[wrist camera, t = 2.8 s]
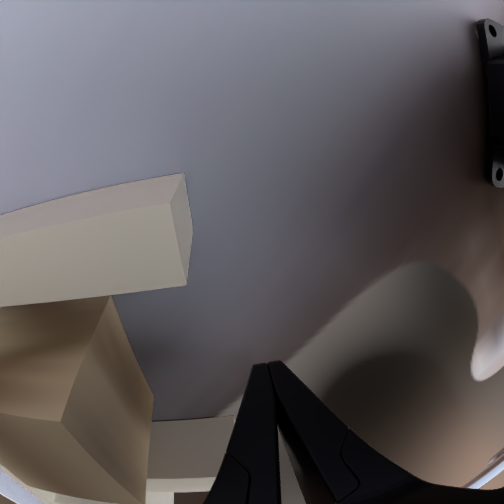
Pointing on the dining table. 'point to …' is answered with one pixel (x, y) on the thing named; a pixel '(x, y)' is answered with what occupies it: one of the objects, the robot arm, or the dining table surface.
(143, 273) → the angular open frame
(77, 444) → the block
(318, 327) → the dining table surface
